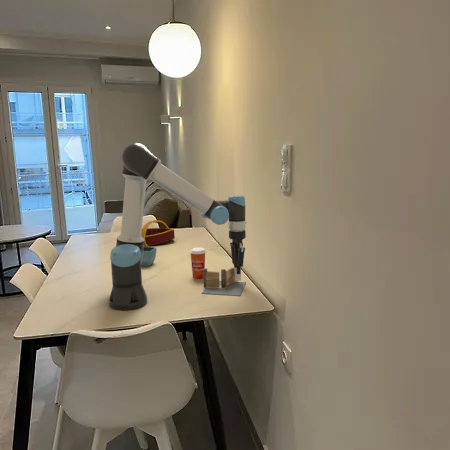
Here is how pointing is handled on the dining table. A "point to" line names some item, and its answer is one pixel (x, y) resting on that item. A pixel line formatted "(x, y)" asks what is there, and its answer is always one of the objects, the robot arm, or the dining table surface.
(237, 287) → the board
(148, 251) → the flower pot
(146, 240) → the decorative basket
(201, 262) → the paper cup
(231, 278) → the hinged fence panel
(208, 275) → the fixed fence panel and posts
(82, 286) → the dining table surface
